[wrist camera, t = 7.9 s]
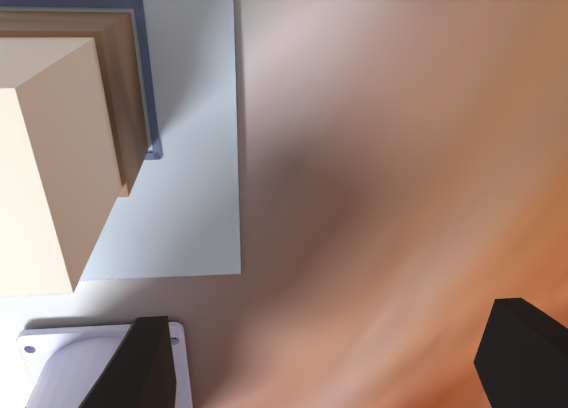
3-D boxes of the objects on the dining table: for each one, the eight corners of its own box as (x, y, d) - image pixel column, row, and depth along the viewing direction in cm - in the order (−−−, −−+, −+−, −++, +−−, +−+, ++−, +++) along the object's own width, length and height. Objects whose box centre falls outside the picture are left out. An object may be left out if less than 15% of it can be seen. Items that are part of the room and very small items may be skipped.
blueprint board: (240, 268, 22) (241, 275, 21) (-22, 279, 20) (-28, 286, 20) (227, -234, 13) (226, -240, 12) (-242, -268, 11) (-260, -276, 11)
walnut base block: (148, 148, 18) (128, 196, 14) (16, 150, 17) (-39, 201, 14) (130, 12, 15) (100, 31, 12) (-25, 10, 15) (-104, 28, 11)
